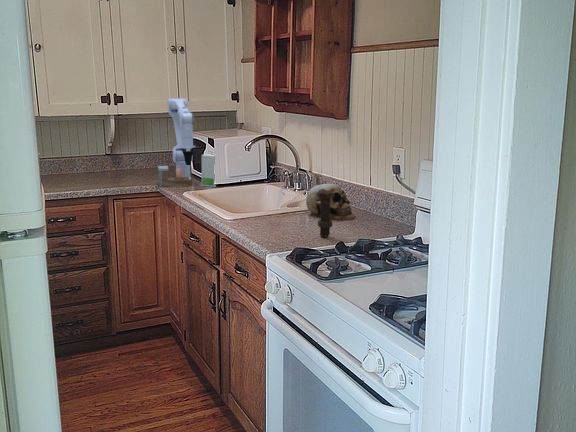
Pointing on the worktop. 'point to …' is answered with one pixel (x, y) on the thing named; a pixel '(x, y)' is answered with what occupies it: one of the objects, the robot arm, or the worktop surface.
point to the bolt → (325, 212)
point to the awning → (160, 169)
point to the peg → (178, 174)
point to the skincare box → (208, 170)
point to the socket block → (175, 182)
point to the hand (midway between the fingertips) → (188, 164)
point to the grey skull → (337, 205)
